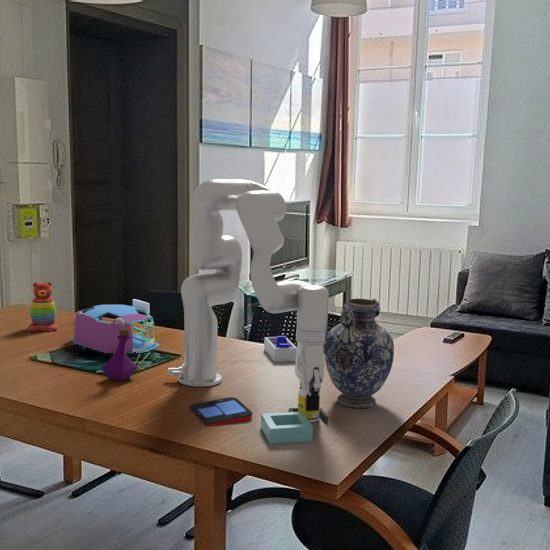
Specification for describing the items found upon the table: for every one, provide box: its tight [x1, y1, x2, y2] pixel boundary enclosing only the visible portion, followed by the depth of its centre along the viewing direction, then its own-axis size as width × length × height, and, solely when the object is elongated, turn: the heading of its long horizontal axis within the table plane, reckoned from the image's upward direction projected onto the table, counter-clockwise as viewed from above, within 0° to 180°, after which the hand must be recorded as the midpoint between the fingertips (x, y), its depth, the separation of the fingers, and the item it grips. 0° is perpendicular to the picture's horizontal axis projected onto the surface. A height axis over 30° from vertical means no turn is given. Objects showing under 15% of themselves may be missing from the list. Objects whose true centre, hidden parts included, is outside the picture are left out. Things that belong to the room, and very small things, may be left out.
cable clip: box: [273, 335, 289, 348], centre depth 228 cm, size 12×4×6 cm, turn 4°
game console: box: [189, 396, 253, 427], centre depth 172 cm, size 14×13×2 cm
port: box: [260, 411, 314, 445], centre depth 159 cm, size 10×10×4 cm
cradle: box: [287, 407, 329, 423], centre depth 170 cm, size 9×7×2 cm
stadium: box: [71, 298, 161, 354], centre depth 237 cm, size 35×24×14 cm
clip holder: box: [263, 336, 297, 363], centre depth 229 cm, size 8×16×4 cm, turn 13°
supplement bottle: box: [297, 380, 321, 423], centre depth 169 cm, size 5×5×10 cm
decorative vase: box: [324, 298, 395, 409], centre depth 182 cm, size 21×19×28 cm
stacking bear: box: [26, 282, 59, 332], centre depth 256 cm, size 11×10×18 cm
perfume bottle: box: [101, 317, 138, 382], centre depth 196 cm, size 8×8×18 cm
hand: (308, 405), depth 169 cm, fingers closed on supplement bottle, 5 cm apart
